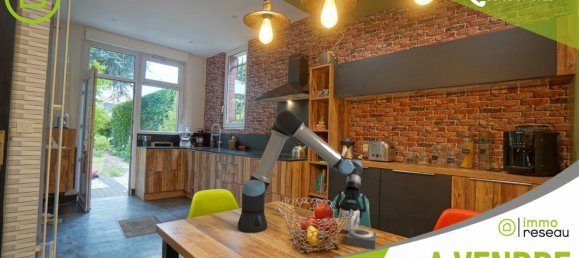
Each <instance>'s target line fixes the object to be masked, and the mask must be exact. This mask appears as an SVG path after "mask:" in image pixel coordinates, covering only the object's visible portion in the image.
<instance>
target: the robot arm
mask: <svg viewBox="0 0 579 258" xmlns="http://www.w3.org/2000/svg"><path fill="white" fill-rule="evenodd" d="M270 131H271V135H270V138H269V139H268V142H267V144H266V147H265V150H264V152H263V153H262V156H261V159H260V161H259V163H258V164H257V165H258V166H257V167H256V170H255V172H253V173H251V174H250V177H249V178H248V180H246V181H244V182H243V183H242V185H241V186H242V187H241V213H240V217H239V219H238V221H237V230H238V231H240V232H243V233H249V234H250V233H261V232H264V231H266V230H268V221H267V217H266V213H265V205H266V204H265V199H266V198H265V197H266V195H267V191H268V189H269V187H270V184H271V180H270V177H271V175H272V172H273V171H274V169H275V165H276V164H277V162H278V159H279V157H280V154H281V153H282V150H283V147H284V145H285V143H286V141H287V140H288V139H290V138H291V137H293V138H294V137H295V138H296V139H298V140H299V141H300V142H302V143H303V144H304V145H305V146H307V147H308V148H309V149H311V150H312V152H314V153H316V154H317V155H318V156H319V157H320V158H322V159H323V160H324V161H326V162H327V163H328V164H327V166H328V168H330V169H332V170H335V171H336V172H339V173H340V174H342V175H345V176H347V177H346V183H345V190H344V191H341V190H339V191H338V196H337V198H336V201H335V204H334V208H335V209H336V210H337V211H336V214H337V216H338V218H341V203H343V202H349V201H354V203H355V204H357V205H358V217H357V225H358V226H359V225H360V219H362V217H363V213H367V206H366V200H365V199H366V193H365V192H364V193H361V181H362V173H363V164H362V162H361V161H360V160H357V159H356V160H355V159H352V160H349V159H347V158H346V157H345V156H344V155H342V154H341V153H340V152H339V151H337V150H336V149H335V148H333V147H332V146H331V145H330V144H329V143H327V142H326V141H324V139H322V138H321V137H320V136H318V135H317V134H316V133H315V132H313V131H312V130H311V129H310V128H308V127H307V126H306V125H305V122H304V121H303V120H301V118H300V117H298V116H297V115H296V114H295V112H293V111H292V110H289V109H283V110H280V111H279V112H278V113H277V114H276V116H275V118H274V122H273V125H272V127H271V129H270ZM344 195H345V196H344ZM343 196H344V198H343V199H342V197H343ZM359 198H361V203H362V205H361V203H360V200H359Z"/></svg>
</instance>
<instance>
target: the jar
mask: <svg viewBox="0 0 579 258" xmlns="http://www.w3.org/2000/svg"><path fill="white" fill-rule="evenodd" d="M340 203H341V202H340ZM350 209H352V210H353V211H354V215H353V216H352V217H351V218H350V219H349V221H348V222H347V223H346V224H345V225H344V227H343V229H342V230H344V231H348V232H349V230H350V229H359V228H358V227H359V225H357V217H358V210H359V209H358V205H357V204H356V202H352V201H351V202H349V201H347V202H343V203H341V217H343V216H345V215H346V214H347V211H350Z"/></svg>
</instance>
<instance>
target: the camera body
mask: <svg viewBox="0 0 579 258" xmlns="http://www.w3.org/2000/svg"><path fill="white" fill-rule="evenodd" d="M345 242H346V243H345V244H346V246H351V247H357V248H365V249H370V248H371V250H375V249H376V244H377V232H374V231H371V230H369V229H364V228H358V229H350V230H349V231H348V232H347V235H346V241H345Z"/></svg>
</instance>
